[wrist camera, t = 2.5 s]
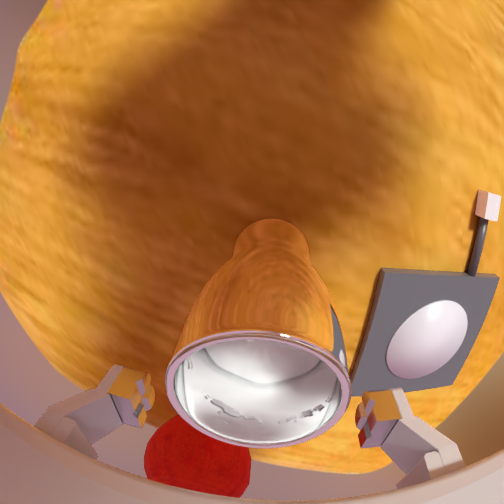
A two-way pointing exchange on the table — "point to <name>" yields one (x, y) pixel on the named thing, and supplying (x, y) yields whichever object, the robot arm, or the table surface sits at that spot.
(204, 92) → the table surface
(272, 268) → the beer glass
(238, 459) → the apple
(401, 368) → the charging dock
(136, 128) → the table surface
